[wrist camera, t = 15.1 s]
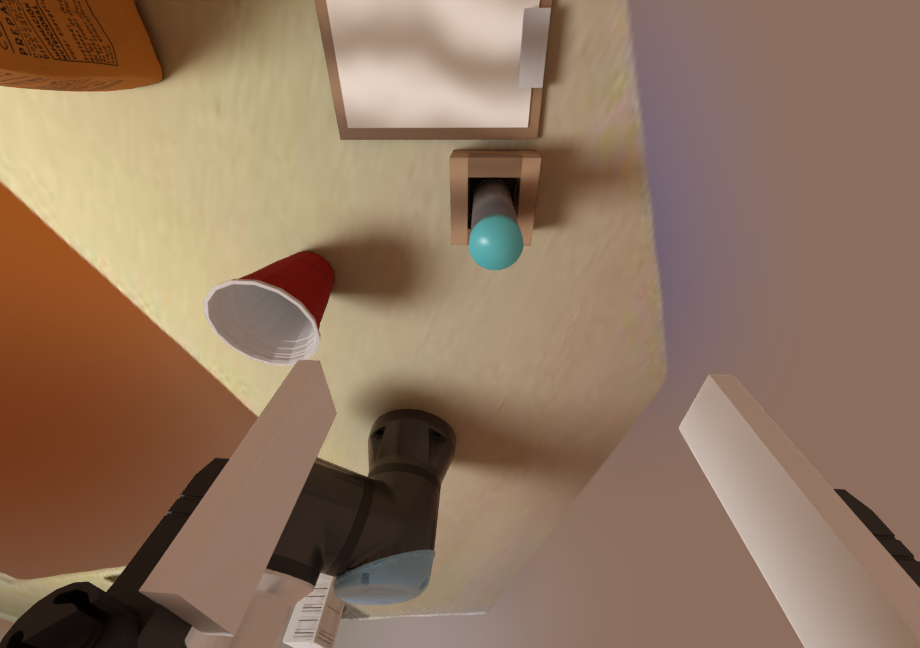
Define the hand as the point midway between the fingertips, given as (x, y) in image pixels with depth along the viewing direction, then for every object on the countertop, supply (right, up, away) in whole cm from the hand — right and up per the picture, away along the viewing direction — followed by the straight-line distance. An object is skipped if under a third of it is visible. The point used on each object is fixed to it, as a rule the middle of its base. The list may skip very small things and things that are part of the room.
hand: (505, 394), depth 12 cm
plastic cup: (-20, +9, +30) cm, 38 cm away
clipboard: (-4, +26, +17) cm, 31 cm away
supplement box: (-39, -69, +86) cm, 117 cm away
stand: (+2, +16, +23) cm, 29 cm away
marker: (+2, +16, +23) cm, 29 cm away
